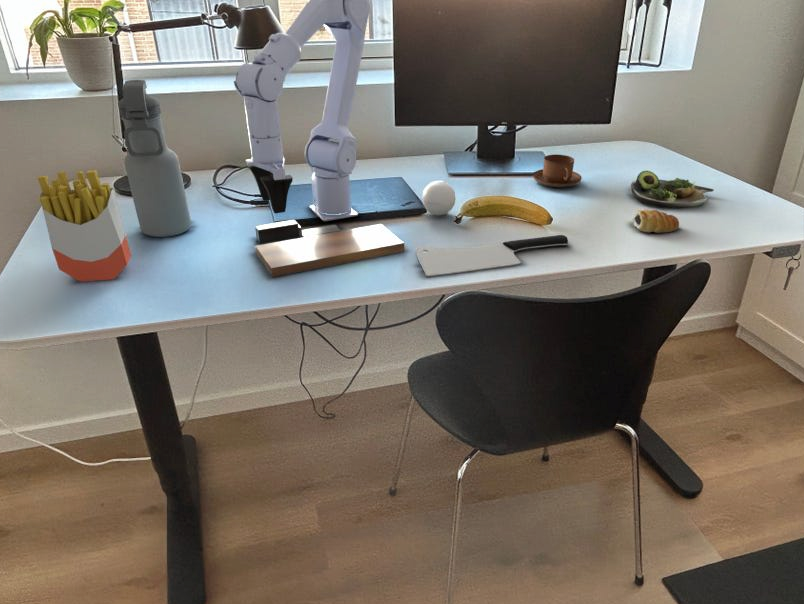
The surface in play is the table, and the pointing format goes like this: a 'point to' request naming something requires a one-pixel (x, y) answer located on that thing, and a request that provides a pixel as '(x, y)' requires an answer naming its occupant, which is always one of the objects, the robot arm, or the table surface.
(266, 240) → the two-tone stepped block
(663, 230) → the pastry
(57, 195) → the french fries container
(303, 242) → the cutting board
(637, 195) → the salad plate
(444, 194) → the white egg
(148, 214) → the water bottle
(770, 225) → the table surface
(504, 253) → the kitchen cleaver
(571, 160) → the cup and saucer
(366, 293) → the table surface
